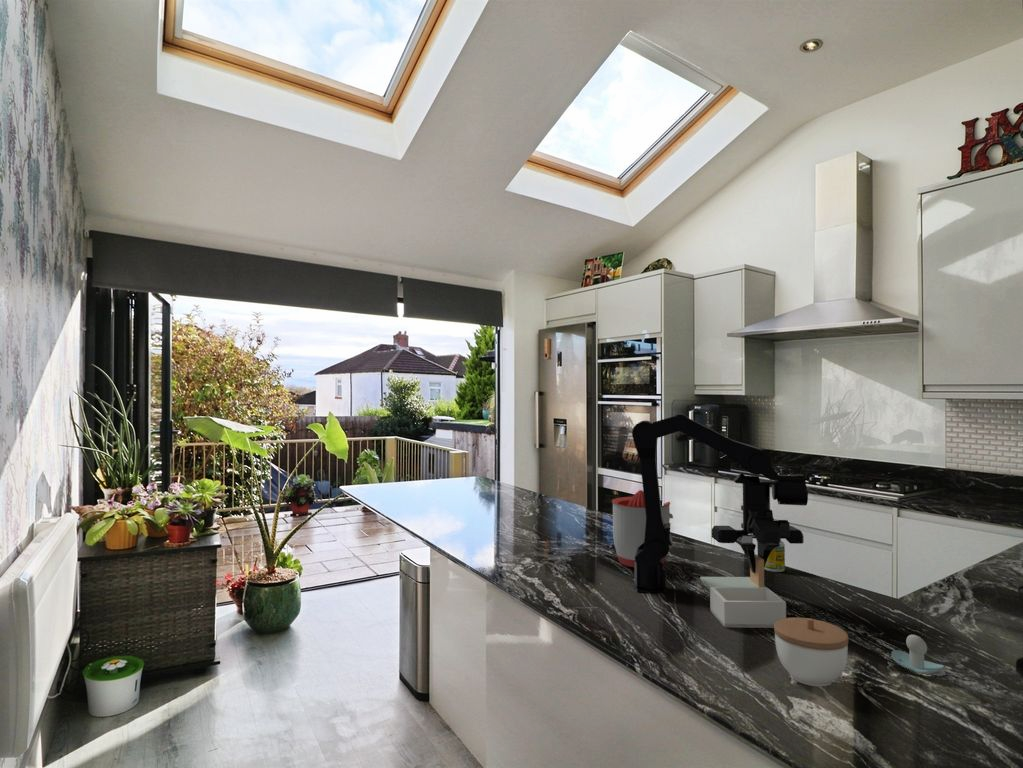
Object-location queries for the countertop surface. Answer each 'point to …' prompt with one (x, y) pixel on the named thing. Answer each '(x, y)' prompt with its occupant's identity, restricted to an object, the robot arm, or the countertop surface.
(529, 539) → the countertop surface
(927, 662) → the pacifier
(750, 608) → the tub
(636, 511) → the citrus juicer
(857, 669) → the countertop surface
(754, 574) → the lid
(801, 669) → the lidded jar
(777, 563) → the supplement bottle
